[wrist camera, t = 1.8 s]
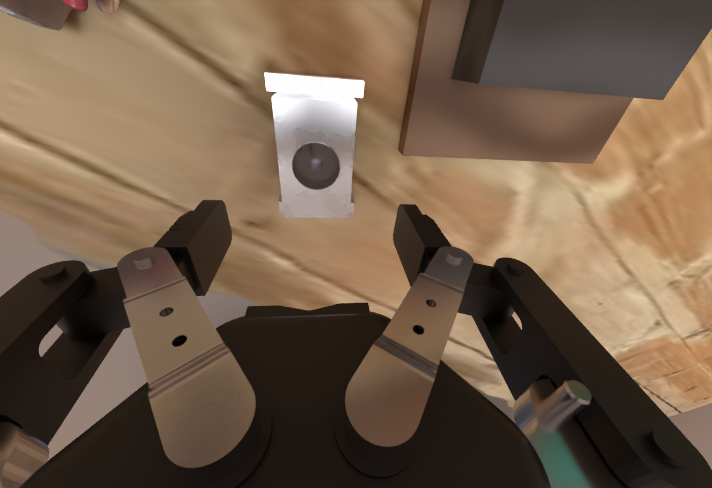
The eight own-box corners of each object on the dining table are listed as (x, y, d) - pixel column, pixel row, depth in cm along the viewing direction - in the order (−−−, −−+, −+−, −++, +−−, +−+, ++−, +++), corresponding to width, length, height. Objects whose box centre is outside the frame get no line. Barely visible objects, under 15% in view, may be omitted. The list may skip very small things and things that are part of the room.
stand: (481, -342, 11) (594, -617, 6) (808, -235, 13) (1055, -382, 9) (398, 149, 22) (417, 173, 18) (579, 158, 25) (635, 180, 20)
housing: (270, 70, 18) (255, 75, 14) (360, 78, 19) (371, 84, 15) (283, 199, 24) (275, 229, 20) (351, 200, 25) (357, 229, 21)
